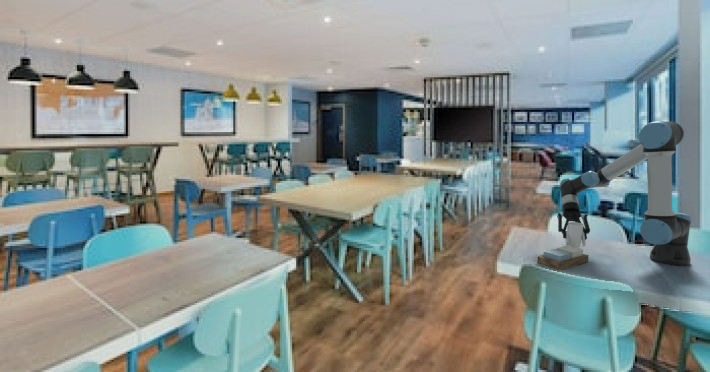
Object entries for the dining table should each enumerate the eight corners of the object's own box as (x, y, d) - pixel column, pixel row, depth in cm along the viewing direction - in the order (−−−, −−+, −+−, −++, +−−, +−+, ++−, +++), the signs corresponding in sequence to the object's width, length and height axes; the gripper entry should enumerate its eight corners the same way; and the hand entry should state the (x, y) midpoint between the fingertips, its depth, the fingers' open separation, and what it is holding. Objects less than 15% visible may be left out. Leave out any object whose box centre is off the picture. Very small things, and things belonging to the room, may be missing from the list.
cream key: (582, 256, 190) (583, 249, 190) (572, 259, 186) (573, 252, 185) (566, 252, 197) (566, 245, 196) (556, 254, 193) (556, 248, 192)
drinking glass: (583, 255, 198) (585, 225, 196) (567, 254, 199) (570, 224, 197) (578, 251, 205) (580, 222, 202) (563, 250, 206) (566, 221, 204)
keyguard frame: (588, 261, 190) (588, 255, 189) (561, 270, 179) (561, 263, 178) (564, 254, 199) (564, 248, 199) (537, 262, 188) (537, 256, 188)
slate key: (570, 260, 185) (570, 253, 184) (559, 263, 181) (560, 256, 180) (553, 255, 192) (554, 248, 191) (543, 258, 187) (543, 251, 187)
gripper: (589, 210, 211) (596, 249, 198) (548, 208, 216) (552, 246, 203) (593, 202, 205) (600, 242, 192) (551, 200, 211) (555, 239, 197)
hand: (575, 244), depth 198 cm, fingers closed on drinking glass, 6 cm apart
